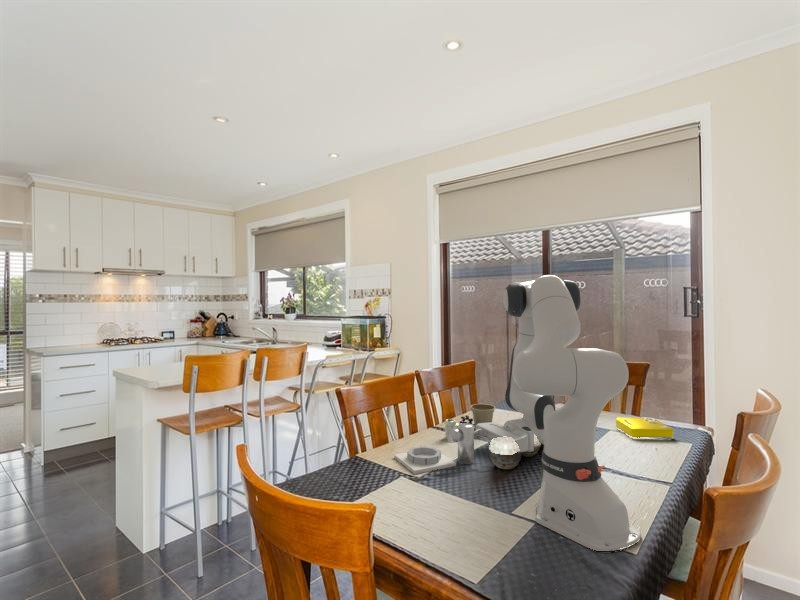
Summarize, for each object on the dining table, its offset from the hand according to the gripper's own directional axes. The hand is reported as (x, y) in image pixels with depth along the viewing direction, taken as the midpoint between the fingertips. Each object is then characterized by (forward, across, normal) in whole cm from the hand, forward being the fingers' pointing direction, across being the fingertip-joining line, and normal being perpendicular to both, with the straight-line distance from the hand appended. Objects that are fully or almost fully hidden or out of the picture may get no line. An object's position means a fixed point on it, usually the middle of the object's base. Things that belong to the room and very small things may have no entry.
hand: (480, 439), depth 137 cm
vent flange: (+18, -5, +6) cm, 19 cm away
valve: (-6, -22, +6) cm, 23 cm away
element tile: (-70, +6, +6) cm, 70 cm away
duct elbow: (+7, 0, +6) cm, 9 cm away
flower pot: (-18, -24, +6) cm, 31 cm away
